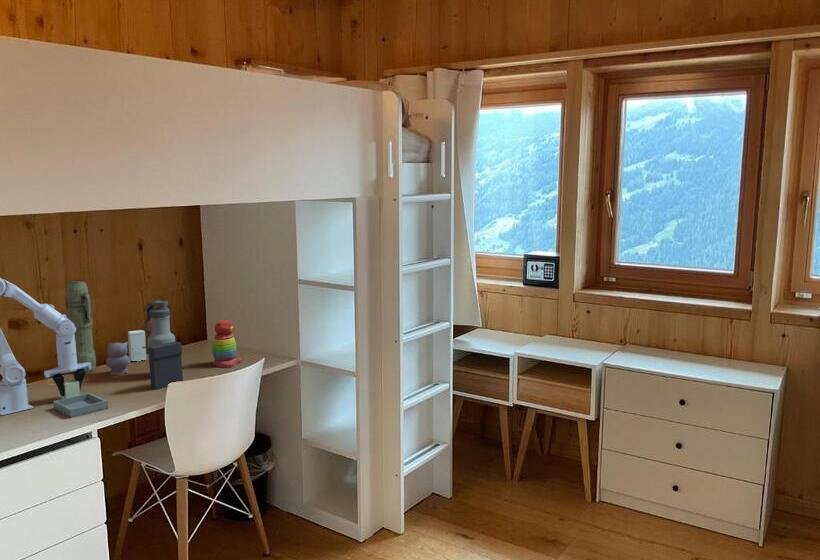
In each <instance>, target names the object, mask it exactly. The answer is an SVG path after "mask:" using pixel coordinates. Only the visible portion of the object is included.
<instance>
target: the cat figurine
mask: <svg viewBox="0 0 820 560" xmlns="http://www.w3.org/2000/svg"><path fill="white" fill-rule="evenodd" d="M106 352H107V354H108V357H107V359H106V361H105V362H106V366H107V367H108V368H109V369H111V370H110V371H109V373H111V374H112V375H111V374H110V375H111V376H113V375H119V376H122V375H121V374H125V373H127V374H129V368H128V367H129V365H130V363H131V361H130V358H129V355H127V353H128V341H126V342H114V343H111V342H107V349H106ZM125 375H126V374H125Z"/></svg>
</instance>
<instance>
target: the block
mask: <svg viewBox="0 0 820 560" xmlns="http://www.w3.org/2000/svg"><path fill="white" fill-rule="evenodd" d="M64 390H65V396H61V395H60V399H65V398H69V397H73V396H77V395H81V391H80V387H79V381H77V380H75V379H74V378H73V379H68V380H64Z"/></svg>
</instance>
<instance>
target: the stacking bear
mask: <svg viewBox="0 0 820 560" xmlns="http://www.w3.org/2000/svg"><path fill="white" fill-rule="evenodd" d="M234 328H235V327H234V325H233V323H231V322H230V321H229V320H227V319H226V318H224V319H221V320H218V321H217V322H216V323H215V325H214V331H215V333H216V334H215V335H214V337H213V338H212V345H211V352H212V355H213V358H214V360H213V363H212V364H213V366H215V367H217V368H226V369H227V368H228V369H229V368H232V367H234V366H235V365H237V364H240V363H242V362H243V359H242V357H239V356H236V355H237V354H236V353H237V343H236V339H235V337H234V334H233V331H234Z"/></svg>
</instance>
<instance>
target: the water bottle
mask: <svg viewBox="0 0 820 560" xmlns="http://www.w3.org/2000/svg"><path fill="white" fill-rule="evenodd" d="M168 303H169V302H168V300H155V301H152V302H149V303H147V304H146V305H145V307H144V315H145V316H146V319H145V320H144V321H143V327H144V328H143V329H144V330H143V331H145V334H149V333H151V334H149V336H148V337H147V349H148V348H149V347H151V346H156V345H160V344H165V343H170V342H175V341H176V336H175V335H174V333H172V332H171V325H170V324H171V323H170V317H171V316H170V308H169V307H168ZM155 306H158V307H155ZM149 321H150V328H151V330H148V329H147V328H148V327H147V323H148V322H149ZM147 352H148V355H149V351H148V350H147ZM148 365H149V364H148ZM148 367H149V369H150V365H149V366H148Z"/></svg>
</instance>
